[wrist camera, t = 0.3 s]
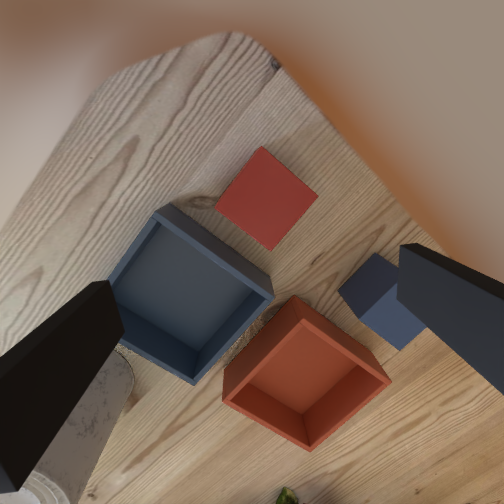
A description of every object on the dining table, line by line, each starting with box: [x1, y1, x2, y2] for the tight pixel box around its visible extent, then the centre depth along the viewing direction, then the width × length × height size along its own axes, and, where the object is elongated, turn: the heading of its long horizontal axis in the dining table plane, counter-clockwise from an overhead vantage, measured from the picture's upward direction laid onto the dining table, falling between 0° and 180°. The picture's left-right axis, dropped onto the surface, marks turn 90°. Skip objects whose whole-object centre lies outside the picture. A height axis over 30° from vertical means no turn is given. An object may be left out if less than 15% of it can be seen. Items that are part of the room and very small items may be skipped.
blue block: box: [338, 253, 427, 351], centre depth 26 cm, size 6×6×6 cm
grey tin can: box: [0, 350, 134, 504], centre depth 25 cm, size 10×10×12 cm
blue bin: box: [107, 203, 275, 386], centre depth 26 cm, size 12×12×4 cm
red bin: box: [222, 295, 392, 452], centre depth 29 cm, size 12×12×4 cm
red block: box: [214, 146, 318, 251], centre depth 23 cm, size 6×6×6 cm
